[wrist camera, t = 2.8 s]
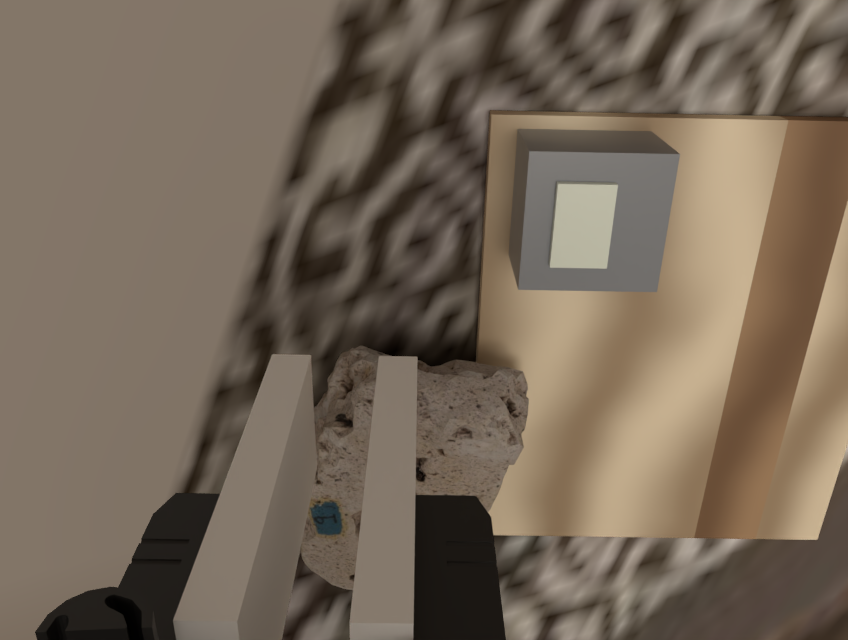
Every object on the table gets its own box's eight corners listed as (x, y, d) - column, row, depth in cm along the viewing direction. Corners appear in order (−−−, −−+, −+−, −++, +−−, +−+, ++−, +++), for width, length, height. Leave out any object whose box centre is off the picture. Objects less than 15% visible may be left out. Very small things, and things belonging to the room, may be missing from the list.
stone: (452, 640, 36) (245, 580, 34) (457, 537, 40) (275, 479, 38) (595, 472, 28) (334, 382, 26) (582, 367, 32) (359, 285, 31)
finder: (508, 254, 31) (519, 293, 27) (517, 128, 28) (530, 153, 25) (633, 256, 31) (659, 295, 27) (651, 131, 28) (683, 156, 25)
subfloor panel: (466, 523, 38) (467, 534, 37) (489, 110, 29) (491, 114, 28) (809, 528, 38) (817, 539, 37) (936, 119, 29) (949, 123, 28)
